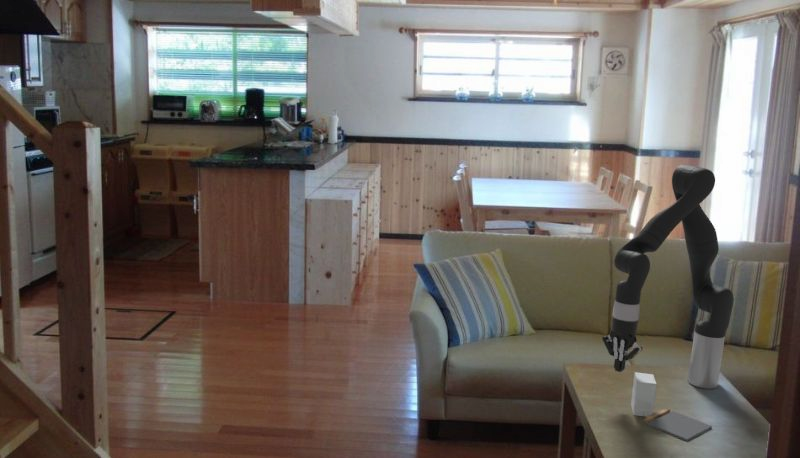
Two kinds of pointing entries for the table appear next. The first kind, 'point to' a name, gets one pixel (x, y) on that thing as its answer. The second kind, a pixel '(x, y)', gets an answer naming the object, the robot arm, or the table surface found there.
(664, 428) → the rubber mat
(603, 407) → the table surface
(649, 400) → the small box
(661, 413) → the oak ledge
